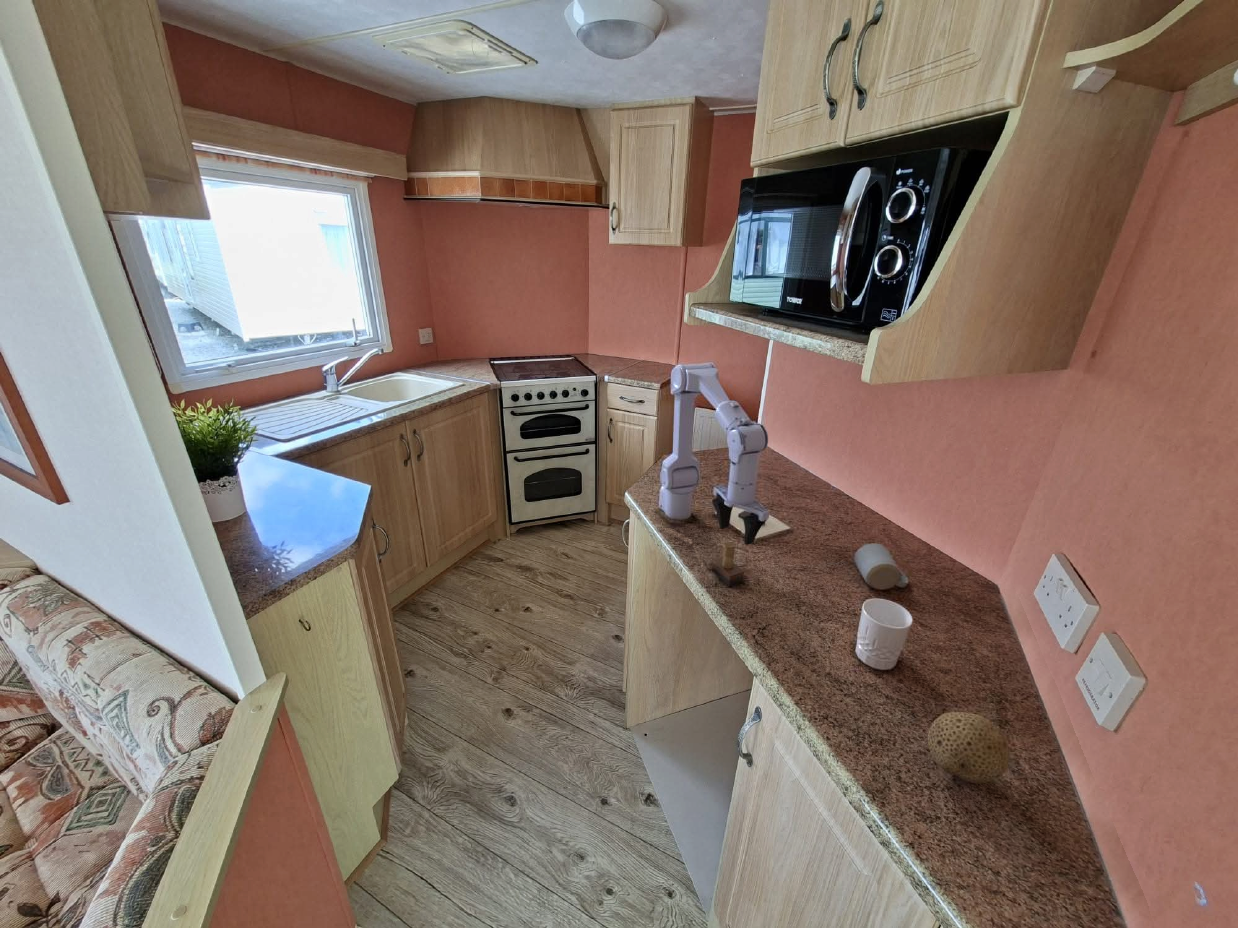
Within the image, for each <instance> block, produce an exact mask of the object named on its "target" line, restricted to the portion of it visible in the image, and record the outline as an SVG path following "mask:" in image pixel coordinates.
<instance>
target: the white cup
mask: <svg viewBox="0 0 1238 928" xmlns="http://www.w3.org/2000/svg"><path fill="white" fill-rule="evenodd" d="M913 621H914V620H913V616H912V614H911V613H910V612H909V611H908V610H907V608H905V607H904V606H902V605H900V604H899V603H897V602H894V601H891V600H889V599H885V598H869V599H867V600H865V601H864V602H863V604H862V606H861V611H860V618H859V621H858V622H859V623H858V629H857V635H856V645H855V654H856V656H857V658H858V659H859V660H860V661H861V662H862V663H864V664H865V665H867V666H868V667H871V668H873V669H876V670H881V671H886V670H892V669H893V668H894V667H896V665H897V662H898V659H899V657H900V656H901V653H902V651H903V648H904V646H905V644H906V641H907V638H908V635H909V633H910V631H911V627H912V625H913Z"/></svg>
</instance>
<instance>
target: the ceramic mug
mask: <svg viewBox="0 0 1238 928" xmlns="http://www.w3.org/2000/svg"><path fill="white" fill-rule="evenodd" d="M853 560H854V564H855V566H856V567H857V570H858V571H859V573H860V574H861V576H862V578H863V580H864V581H865V583H866V584H867V585H868V586H869V587H871V588H872V589H875V590H878V591H879V590H880V591H883V590H884V591H885V590H888V589H892V588H893V587H895V586H896V587H899V588H905V587H906V586H907V585H908V584H909V579H908V577H907V576H906V575H905V574H904V572H902V571H901V570H900V569H899V566H898V565H897V564H896V561H894V558H893V557H892V555H891V553H890V551H889V549H888V548H886V546H884V545H882V544H880V543H876V542H875V543H866V544H864V545H863V546H861V547H860V548H858V549H857V551H856V552H855V554H854V559H853Z"/></svg>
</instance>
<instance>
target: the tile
mask: <svg viewBox="0 0 1238 928" xmlns="http://www.w3.org/2000/svg"><path fill="white" fill-rule="evenodd" d="M743 511H746V510H743V509H740V508H737V507H733V508H732V512H731V517H730V523H729V525H731V526H733V527H734V528H736V529H737V530H739V531H740V532H741V533H743V534H744V535H745V526H744V521H743V519H742V518H739V517H738V514H739V513H741V512H743ZM747 512H748V511H747ZM714 514H716V515H717V512H716V511H714ZM789 529H791V527H790V526H789V525H787V524H785V523H784V522H782V521H781V520H779V519H778V518H776V517H774V516H772V515H771V514H769V519H767V521H766V522H765V525H762V527H761V528H760V529H759V531H758V533H757V535H756V537H755V540H757V539H759V538H762V537H766V536H769V535H773V534H777V533H780V532H782V531H786V530H789Z"/></svg>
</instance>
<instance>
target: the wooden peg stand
mask: <svg viewBox="0 0 1238 928" xmlns="http://www.w3.org/2000/svg"><path fill="white" fill-rule="evenodd" d="M735 552H736V544H735V543H734V542H733V541H725V542H724V544H723V554H722V556H719V557H716V558H713V559H711V560H710V566H711V568H712V569H711V572H712V573H713V574H714V575H716V576H717V577H718V578H719V579H720V580H721V581H723V582H724V583H725V584H726V585H727V586H728V587H731V586H734V585H737V584H739V583H743V582H744V577H745V571H744V570H743V569H742V568H741V567H739V566H738V565H737V564H736V563H735V562H734V560H735Z"/></svg>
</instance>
